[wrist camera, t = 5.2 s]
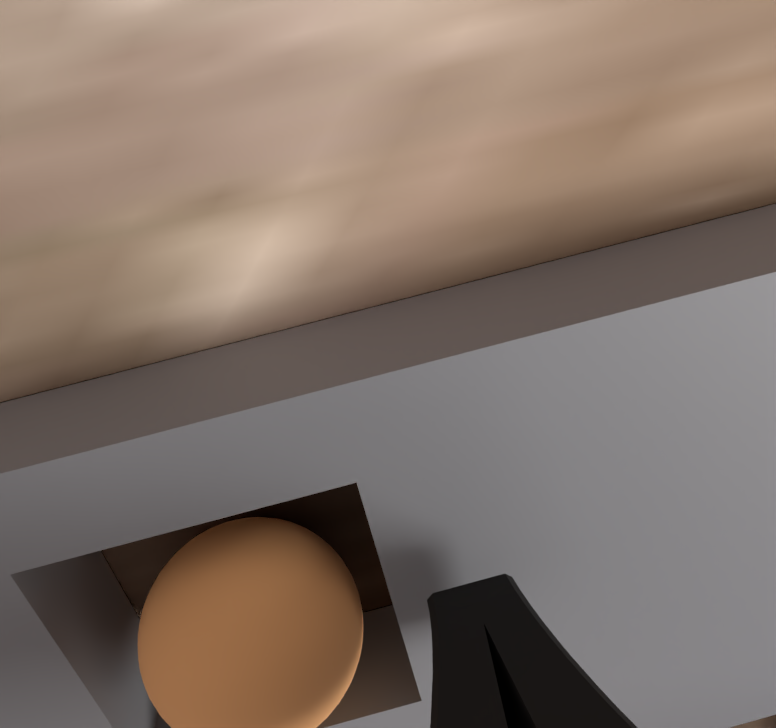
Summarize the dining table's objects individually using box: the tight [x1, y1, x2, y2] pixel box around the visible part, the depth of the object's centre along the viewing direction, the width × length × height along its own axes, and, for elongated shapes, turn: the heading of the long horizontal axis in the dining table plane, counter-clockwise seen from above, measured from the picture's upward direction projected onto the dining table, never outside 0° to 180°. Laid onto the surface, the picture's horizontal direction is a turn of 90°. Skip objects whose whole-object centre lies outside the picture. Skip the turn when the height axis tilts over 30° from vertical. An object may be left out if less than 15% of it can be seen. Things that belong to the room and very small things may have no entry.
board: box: [0, 204, 776, 728], centre depth 13 cm, size 11×22×2 cm, turn 102°
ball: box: [137, 517, 363, 728], centre depth 12 cm, size 4×4×4 cm
